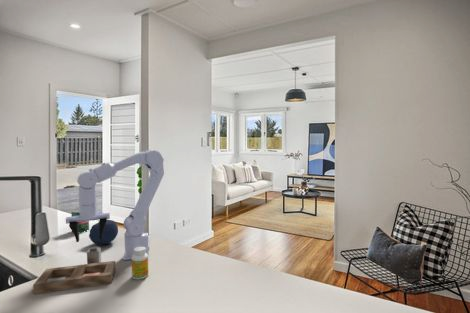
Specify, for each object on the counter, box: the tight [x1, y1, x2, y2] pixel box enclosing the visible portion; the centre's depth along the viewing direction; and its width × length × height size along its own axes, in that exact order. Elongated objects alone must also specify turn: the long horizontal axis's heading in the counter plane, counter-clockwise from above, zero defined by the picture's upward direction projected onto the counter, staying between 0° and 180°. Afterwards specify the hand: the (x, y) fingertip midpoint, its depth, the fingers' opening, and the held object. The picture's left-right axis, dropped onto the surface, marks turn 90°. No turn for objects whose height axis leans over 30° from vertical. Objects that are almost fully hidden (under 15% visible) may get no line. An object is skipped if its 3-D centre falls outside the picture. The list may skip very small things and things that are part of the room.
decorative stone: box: [88, 219, 119, 246], centre depth 127 cm, size 12×12×10 cm
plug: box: [86, 246, 102, 264], centre depth 105 cm, size 4×4×7 cm
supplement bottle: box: [131, 247, 149, 280], centre depth 96 cm, size 5×5×10 cm
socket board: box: [32, 260, 116, 295], centre depth 94 cm, size 22×11×3 cm, turn 107°
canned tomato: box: [70, 208, 90, 233], centre depth 145 cm, size 8×8×11 cm
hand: (89, 239), depth 105 cm, fingers open, 7 cm apart
